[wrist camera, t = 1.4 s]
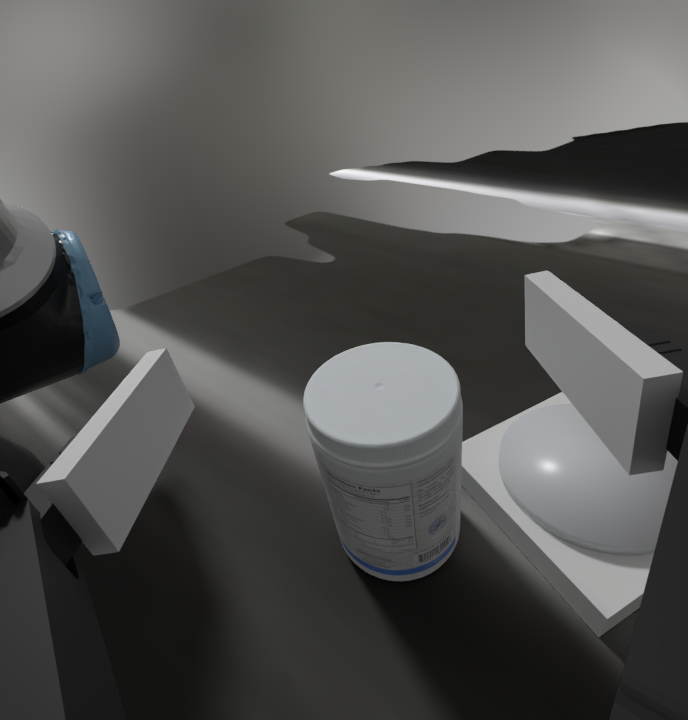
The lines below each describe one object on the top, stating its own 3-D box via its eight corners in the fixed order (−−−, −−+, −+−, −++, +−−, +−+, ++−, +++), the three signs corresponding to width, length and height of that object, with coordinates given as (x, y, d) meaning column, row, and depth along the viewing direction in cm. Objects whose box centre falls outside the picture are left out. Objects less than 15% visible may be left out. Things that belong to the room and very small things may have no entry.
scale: (447, 469, 37) (446, 441, 35) (575, 402, 41) (581, 374, 39) (603, 642, 25) (615, 616, 23) (761, 525, 29) (784, 494, 27)
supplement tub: (357, 469, 39) (329, 335, 30) (465, 485, 36) (468, 340, 27) (322, 573, 31) (273, 435, 23) (454, 603, 28) (455, 457, 20)
